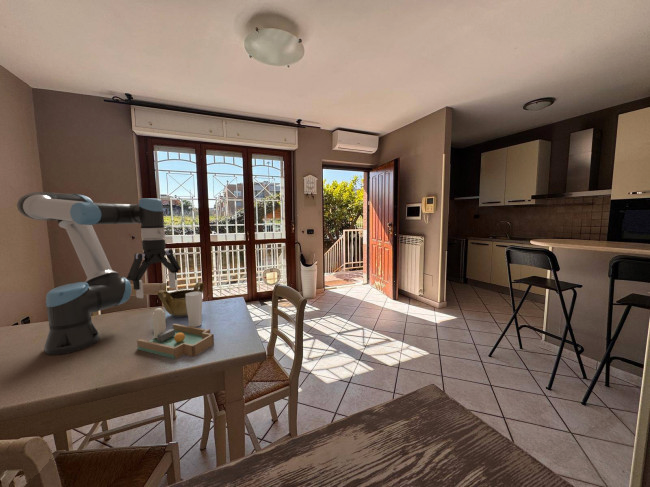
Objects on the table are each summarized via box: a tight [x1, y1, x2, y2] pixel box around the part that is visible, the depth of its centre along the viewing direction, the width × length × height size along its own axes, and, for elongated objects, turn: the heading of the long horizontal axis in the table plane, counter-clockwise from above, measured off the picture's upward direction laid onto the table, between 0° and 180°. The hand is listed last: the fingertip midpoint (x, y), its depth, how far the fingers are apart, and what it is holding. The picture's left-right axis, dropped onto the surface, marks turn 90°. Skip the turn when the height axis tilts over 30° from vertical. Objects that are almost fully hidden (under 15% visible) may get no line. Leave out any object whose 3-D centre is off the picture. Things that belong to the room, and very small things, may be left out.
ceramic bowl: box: [157, 281, 206, 318], centre depth 130 cm, size 22×17×15 cm
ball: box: [174, 333, 185, 342], centre depth 100 cm, size 4×4×4 cm
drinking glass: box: [185, 292, 203, 328], centre depth 118 cm, size 7×7×15 cm
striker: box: [152, 307, 175, 342], centre depth 103 cm, size 6×6×12 cm
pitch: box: [136, 323, 215, 360], centre depth 100 cm, size 24×16×4 cm, turn 70°
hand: (157, 292), depth 102 cm, fingers open, 13 cm apart
